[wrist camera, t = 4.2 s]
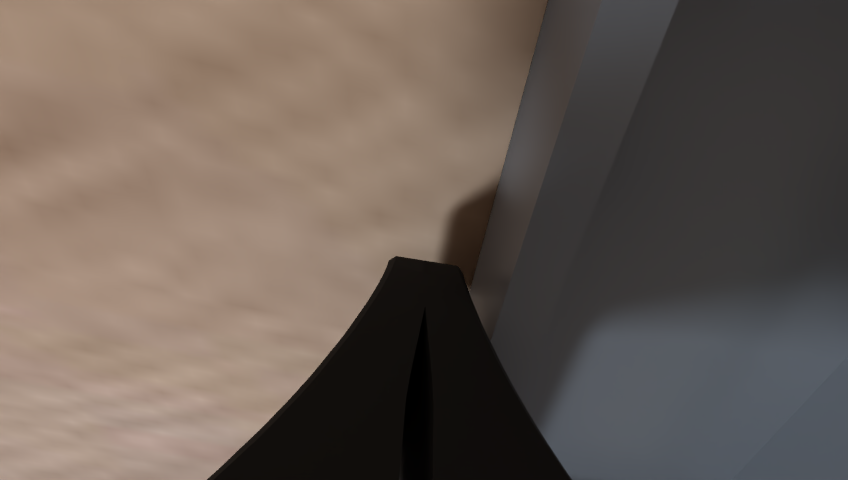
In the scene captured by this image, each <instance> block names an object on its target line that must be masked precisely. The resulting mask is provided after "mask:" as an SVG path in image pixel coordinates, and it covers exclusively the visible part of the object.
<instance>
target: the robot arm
mask: <svg viewBox="0 0 848 480" xmlns="http://www.w3.org/2000/svg"><path fill="white" fill-rule="evenodd" d="M207 480H572V479H571V478H570V476H569V475H568V473H567V472H566V470H565V469H564V467H563V466H562V464H561V463H560V461H559V460H558V458H557V457H556V455H555V454H554V452H553V451H552V449H551V448H550V446H549V445H548V443H547V442H546V440H545V439H544V437H543V435H542V434H541V432H540V431H539V429H538V427H537V426H536V424H535V422H534V421H533V419H532V418H531V416H530V414H529V413H528V411H527V409H526V407H525V406H524V404H523V402H522V400H521V399H520V397H519V395H518V393H517V392H516V390H515V388H514V386H513V385H512V383H511V381H510V379H509V377H508V375H507V373H506V372H505V370H504V368H503V366H502V364H501V362H500V360H499V358H498V356H497V354H496V352H495V350H494V348H493V346H492V344H491V342H490V340H489V338H488V336H487V334H486V331H485V329H484V327H483V325H482V323H481V320H480V318H479V316H478V313H477V311H476V308H475V306H474V304H473V301H472V299H471V296H470V294H469V291H468V288H467V285H466V282H465V279H464V276H463V273H462V271H461V270H460V269H459V267H458V266H454V265H448V264H442V263H435V262H429V261H423V260H417V259H410V258H404V257H398V256H396V257H394V258H392V259H391V260H389V262H388V265H387V268H386V270H385V272H384V274H383V276H382V278H381V280H380V282H379V284H378V285H377V287H376V289H375V291H374V292H373V294H372V295H371V297H370V299H369V300H368V302H367V303H366V305H365V306H364V308H363V309H362V311H361V312H360V313H359V315H358V316H357V318H356V319H355V320H354V322H353V323H352V325H351V326H350V328H349V329H348V330H347V332H346V333H345V334H344V336H343V337H342V338H341V340H340V341H339V342H338V343H337V345H336V346H335V347H334V348H333V349H332V351H331V352H330V353H329V354H328V356H327V357H326V358H325V359H324V360H323V362H322V363H321V364H320V365H319V367H318V368H317V369H316V370H315V371H314V373H313V374H312V375H311V376H310V377H309V378H308V380H307V381H306V382H305V383H304V384H303V385H302V386H301V387H300V388H299V390H298V391H297V392H296V393H295V394H294V395H293V396H292V397H291V398H290V399H289V400H288V402H287V403H286V404H285V405H284V406H283V407H282V408H281V409H280V410H279V411H278V412H277V413H276V414H275V415H274V416H273V417H272V418H271V419H270V420H269V421H268V422H267V423H266V424H265V425H264V426H263V427H262V428H261V429H260V430H259V431H258V432H257V433H256V434H255V435H254V436H253V437H252V438H251V439H250V440H249V441H248V442H247V443H246V444H245V445H244V446H242V447H241V448H240V449H239V450H238V451H237V452H236V453H235V454H234V455H233V456H232V457H231V458H230V459H229V460H228V461H227V462H226V463H225V464H224V465H223V466H222V467H220V468H219V469H218V470H217V471H216V472H215V473H214V474H213V475H212V476H211V477H209V478H208V479H207Z"/></svg>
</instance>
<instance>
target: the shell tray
mask: <svg viewBox="0 0 848 480" xmlns="http://www.w3.org/2000/svg"><path fill="white" fill-rule="evenodd" d="M469 294H470V296H471V299H472V301H473V304H474V306H475V308H476V311H477V313H478V316H479V318H480V320H481V323H482V325H483V327H484V329H485V331H486V334H487V336H488V338H489V340H490V342H491V344H492V346H493V348H494V350H495V352H496V354H497V356H498V358H499V360H500V362H501V364H502V366H503V368H504V370H505V372H506V373H507V375H508V377H509V379H510V381H511V383H512V385H513V386H514V388H515V390H516V392H517V393H518V395H519V397H520V399H521V400H522V402H523V404H524V406H525V407H526V409H527V411H528V413H529V414H530V416H531V418H532V419H533V421H534V422H535V424H536V426H537V427H538V429H539V431H540V432H541V434H542V435H543V437H544V439H545V440H546V442H547V443H548V445H549V446H550V448H551V449H552V451H553V452H554V454H555V455H556V457H557V458H558V460H559V461H560V463H561V464H562V466H563V467H564V469H565V470H566V472H567V473H568V475H569V476H570V478H571V479H572V480H848V0H548V3H547V7H546V11H545V14H544V18H543V22H542V25H541V29H540V33H539V37H538V40H537V44H536V48H535V51H534V55H533V59H532V62H531V66H530V70H529V74H528V77H527V81H526V85H525V88H524V92H523V96H522V100H521V103H520V107H519V111H518V114H517V118H516V122H515V125H514V129H513V133H512V137H511V140H510V144H509V148H508V151H507V155H506V159H505V162H504V166H503V170H502V174H501V177H500V181H499V185H498V188H497V192H496V196H495V199H494V203H493V207H492V211H491V214H490V218H489V222H488V225H487V229H486V233H485V237H484V240H483V244H482V248H481V251H480V255H479V259H478V262H477V266H476V270H475V274H474V277H473V281H472V285H471V288H470V292H469Z"/></svg>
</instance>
